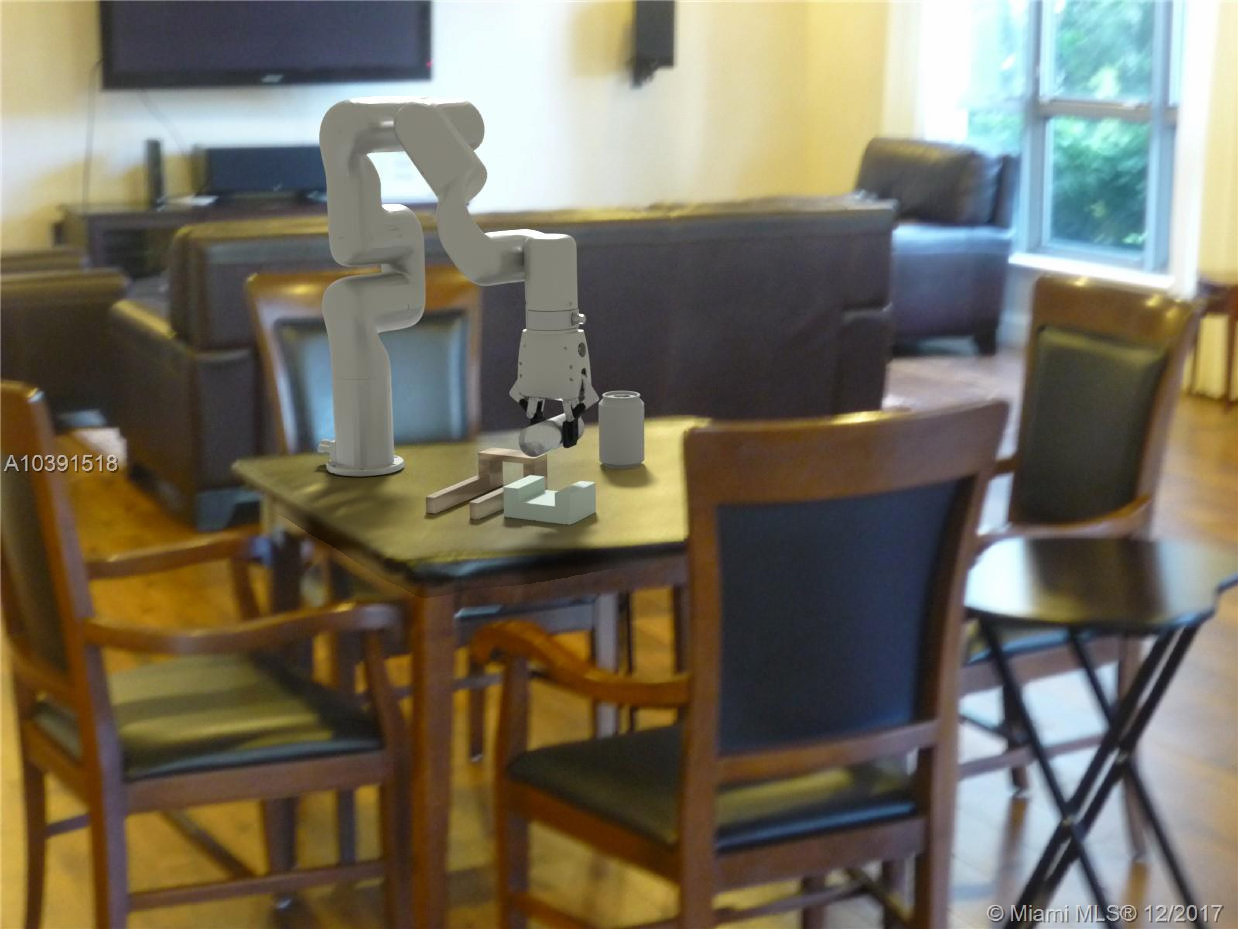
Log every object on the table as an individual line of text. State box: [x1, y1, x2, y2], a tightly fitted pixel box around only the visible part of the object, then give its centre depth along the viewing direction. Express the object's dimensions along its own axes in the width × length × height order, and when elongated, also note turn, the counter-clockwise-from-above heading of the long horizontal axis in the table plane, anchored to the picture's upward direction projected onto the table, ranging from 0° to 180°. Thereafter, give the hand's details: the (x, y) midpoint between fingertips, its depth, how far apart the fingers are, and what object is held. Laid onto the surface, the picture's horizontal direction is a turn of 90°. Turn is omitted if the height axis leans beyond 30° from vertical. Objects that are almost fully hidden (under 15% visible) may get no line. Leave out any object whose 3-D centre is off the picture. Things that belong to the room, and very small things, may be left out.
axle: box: [518, 412, 585, 457], centre depth 249 cm, size 12×4×4 cm, turn 154°
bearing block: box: [425, 447, 549, 520], centre depth 258 cm, size 10×20×6 cm, turn 154°
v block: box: [503, 475, 597, 526], centre depth 251 cm, size 11×8×4 cm
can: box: [598, 390, 645, 470], centre depth 280 cm, size 8×8×12 cm
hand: (554, 443), depth 250 cm, fingers closed on axle, 4 cm apart
